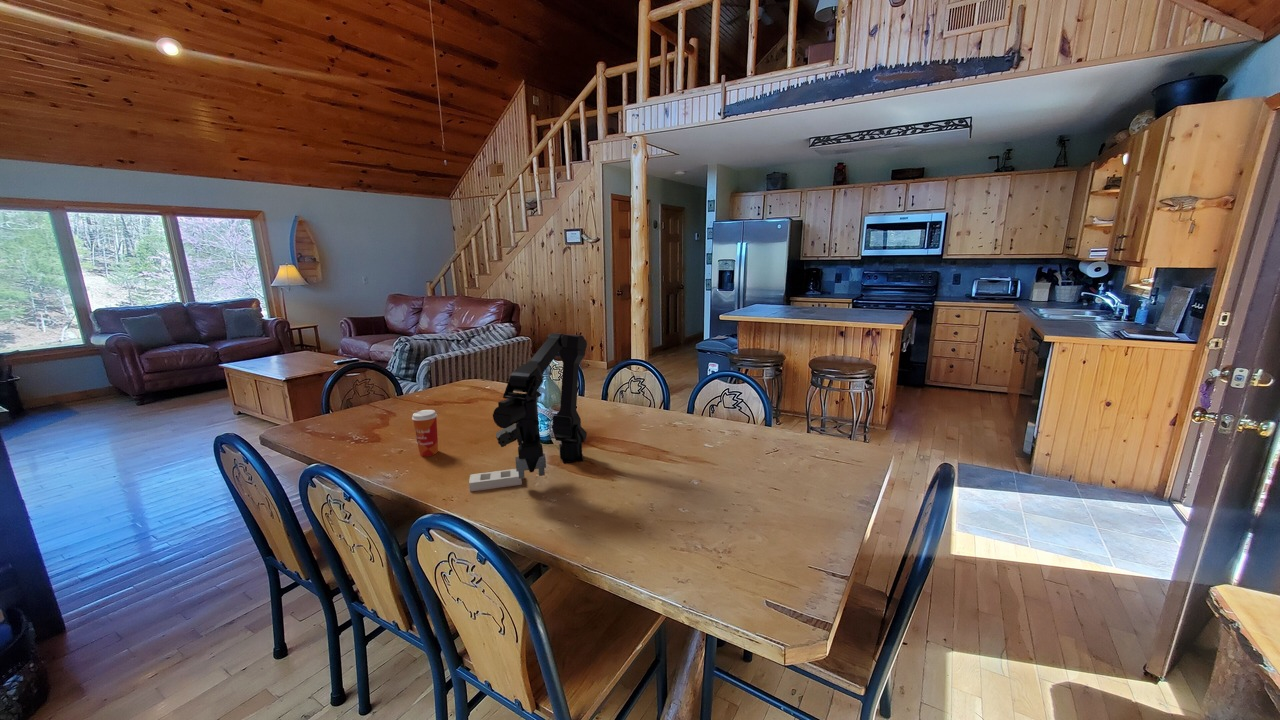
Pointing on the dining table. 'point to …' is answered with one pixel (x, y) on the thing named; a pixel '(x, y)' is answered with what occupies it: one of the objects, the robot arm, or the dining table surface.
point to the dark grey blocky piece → (522, 466)
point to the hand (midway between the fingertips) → (531, 469)
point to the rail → (494, 480)
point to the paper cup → (426, 432)
